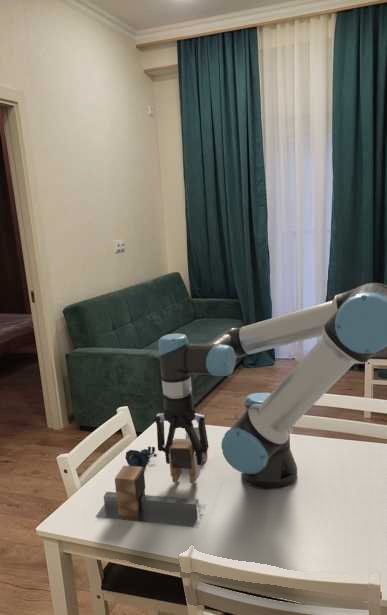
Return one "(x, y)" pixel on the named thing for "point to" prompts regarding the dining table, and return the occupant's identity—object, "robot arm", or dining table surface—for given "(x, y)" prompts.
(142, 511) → the rail
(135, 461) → the toy
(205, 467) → the dining table surface
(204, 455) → the pill bottle
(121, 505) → the wooden block
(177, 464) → the walnut finger
